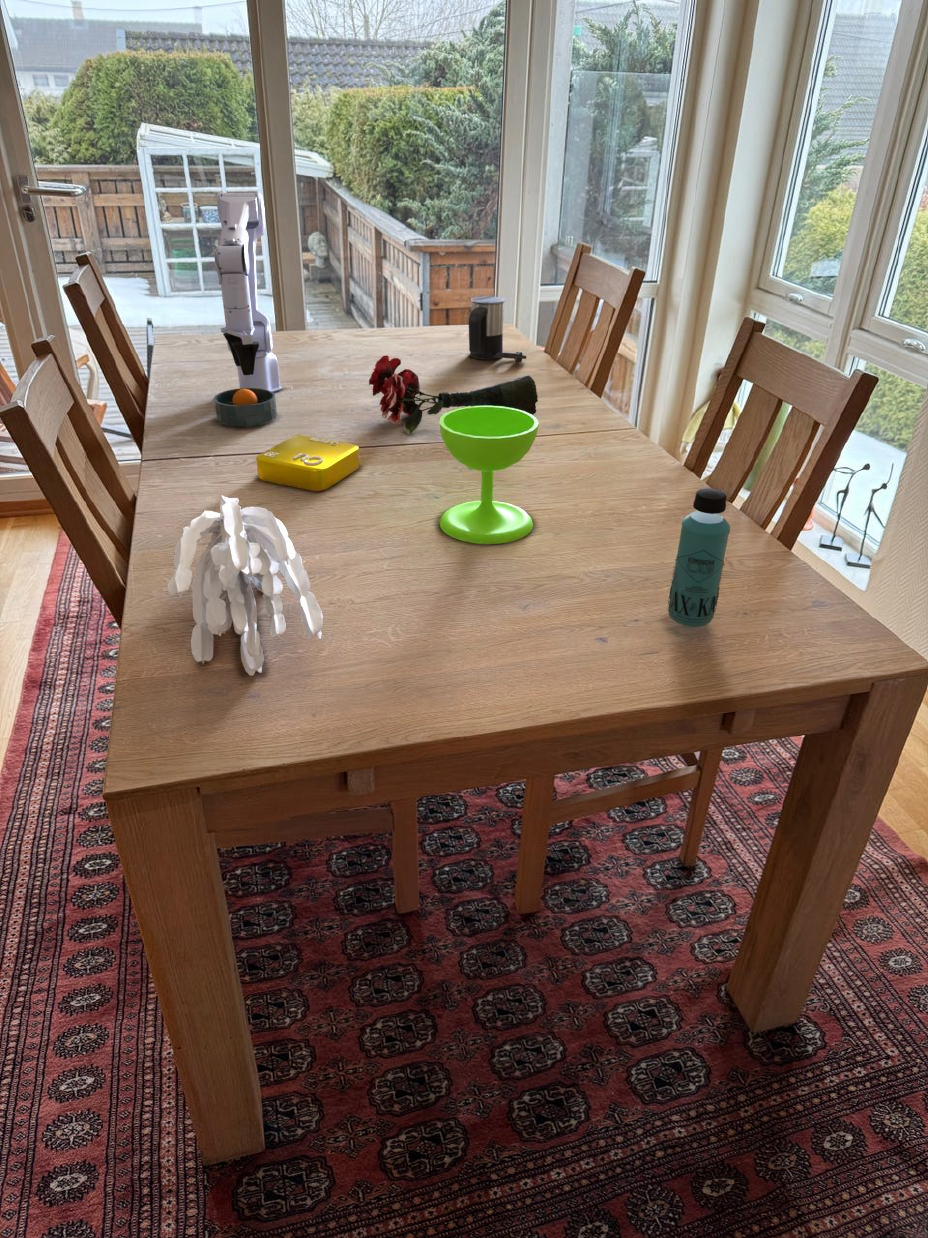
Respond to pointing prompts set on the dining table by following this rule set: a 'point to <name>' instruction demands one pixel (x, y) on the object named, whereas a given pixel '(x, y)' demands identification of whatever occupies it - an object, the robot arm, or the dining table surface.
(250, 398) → the mandarin
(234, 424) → the bowl
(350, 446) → the element tile
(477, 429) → the wineglass
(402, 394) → the carnation
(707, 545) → the beverage bottle
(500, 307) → the milk frother
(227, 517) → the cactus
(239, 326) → the robot arm
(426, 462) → the dining table surface
